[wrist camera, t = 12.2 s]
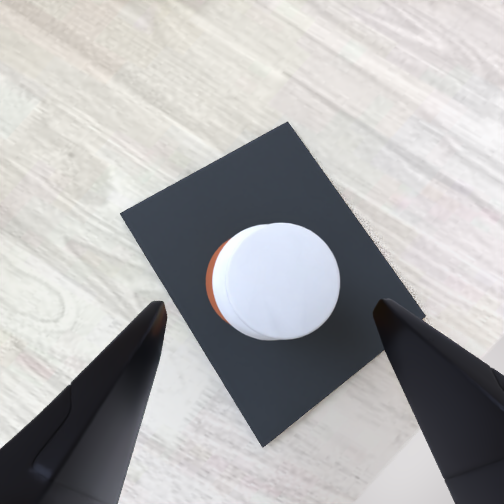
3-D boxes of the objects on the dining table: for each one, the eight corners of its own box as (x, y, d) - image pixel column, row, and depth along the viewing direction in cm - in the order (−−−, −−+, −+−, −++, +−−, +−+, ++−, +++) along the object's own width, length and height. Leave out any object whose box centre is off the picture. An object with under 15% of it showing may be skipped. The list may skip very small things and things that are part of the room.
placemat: (421, 315, 18) (427, 316, 18) (261, 443, 16) (262, 449, 15) (286, 125, 20) (288, 120, 19) (122, 215, 18) (118, 212, 17)
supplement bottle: (292, 251, 18) (363, 212, 8) (287, 321, 17) (359, 370, 7) (225, 243, 17) (215, 192, 8) (215, 314, 16) (192, 356, 7)
